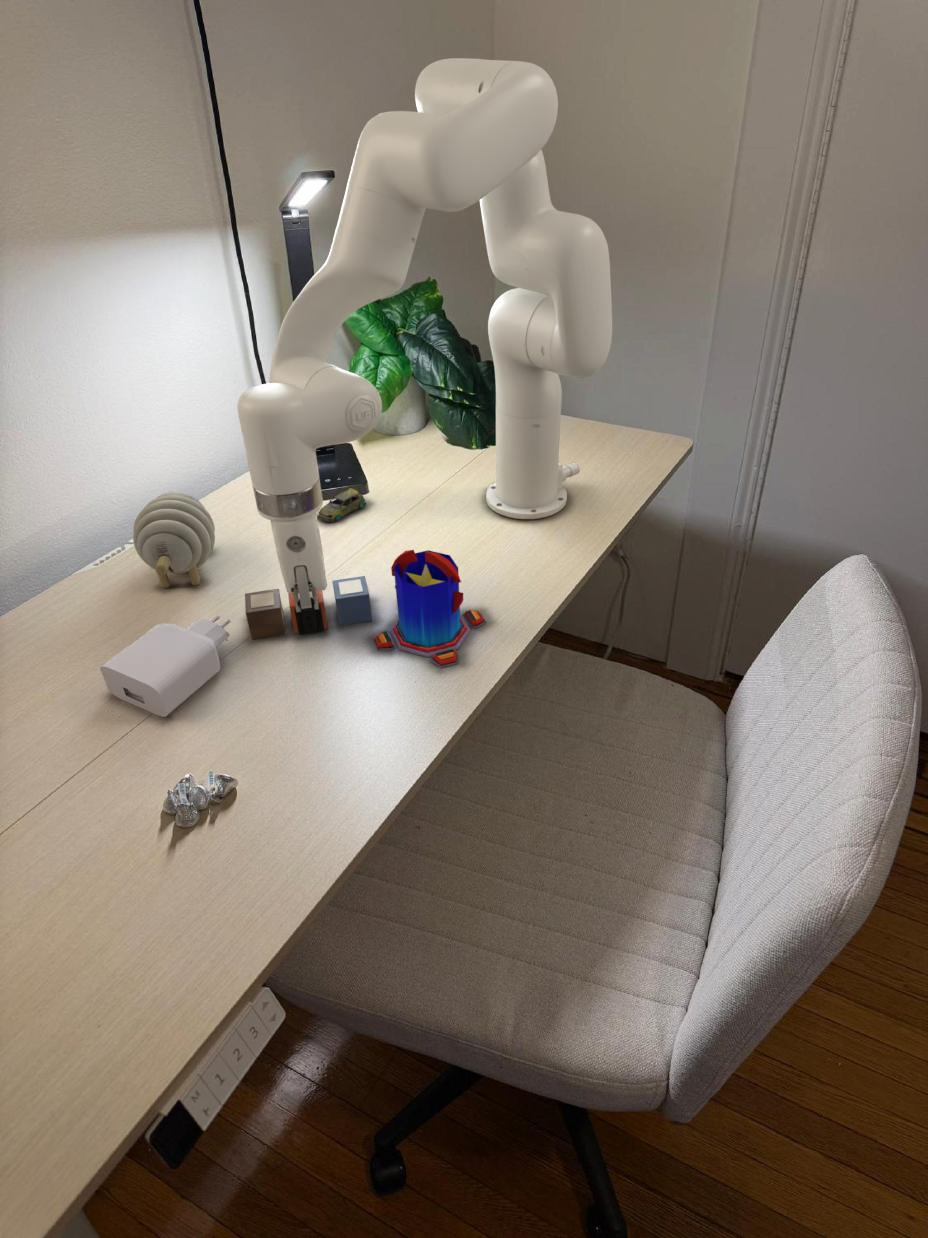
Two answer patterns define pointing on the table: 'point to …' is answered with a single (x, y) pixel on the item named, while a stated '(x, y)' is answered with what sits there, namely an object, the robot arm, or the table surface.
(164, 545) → the toy sheep
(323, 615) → the terracotta block
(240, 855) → the table surface
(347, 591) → the slate block
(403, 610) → the fantasy tower
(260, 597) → the walnut block
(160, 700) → the charger
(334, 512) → the race car
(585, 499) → the table surface
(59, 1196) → the table surface
